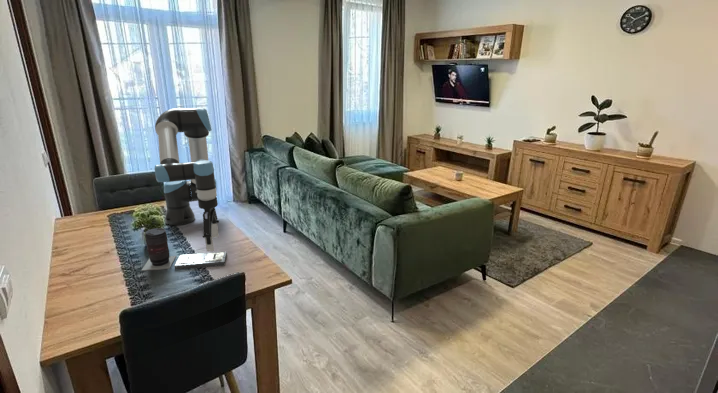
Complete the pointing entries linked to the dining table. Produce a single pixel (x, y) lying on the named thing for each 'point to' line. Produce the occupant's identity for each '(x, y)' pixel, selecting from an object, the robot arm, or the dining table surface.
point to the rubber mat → (150, 267)
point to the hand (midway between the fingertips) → (213, 243)
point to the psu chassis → (201, 260)
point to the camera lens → (157, 246)
